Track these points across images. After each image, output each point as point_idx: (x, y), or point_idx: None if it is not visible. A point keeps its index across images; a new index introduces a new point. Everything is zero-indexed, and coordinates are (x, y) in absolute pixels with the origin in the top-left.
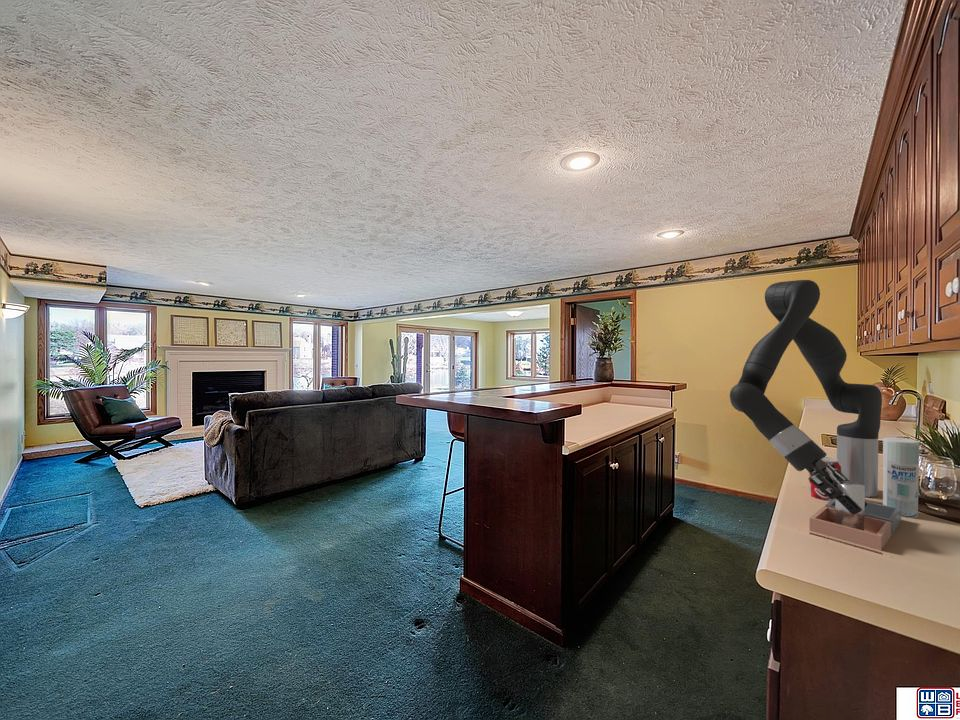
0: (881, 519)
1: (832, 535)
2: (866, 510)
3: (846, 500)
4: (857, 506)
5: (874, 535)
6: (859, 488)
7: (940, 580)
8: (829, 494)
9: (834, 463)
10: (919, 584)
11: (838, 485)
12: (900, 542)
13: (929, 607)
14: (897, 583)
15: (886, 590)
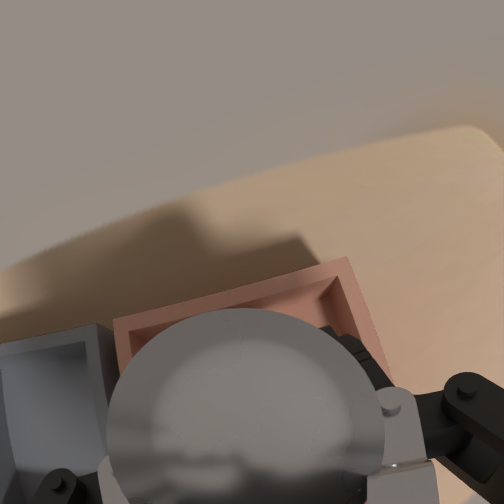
0: (102, 357)
1: None
2: (2, 439)
3: (387, 380)
4: (336, 339)
5: (354, 275)
6: (302, 321)
7: (347, 162)
8: (467, 443)
9: None
10: (413, 172)
11: (412, 462)
12: (152, 307)
13: (468, 144)
14: (453, 191)
15: (492, 190)
